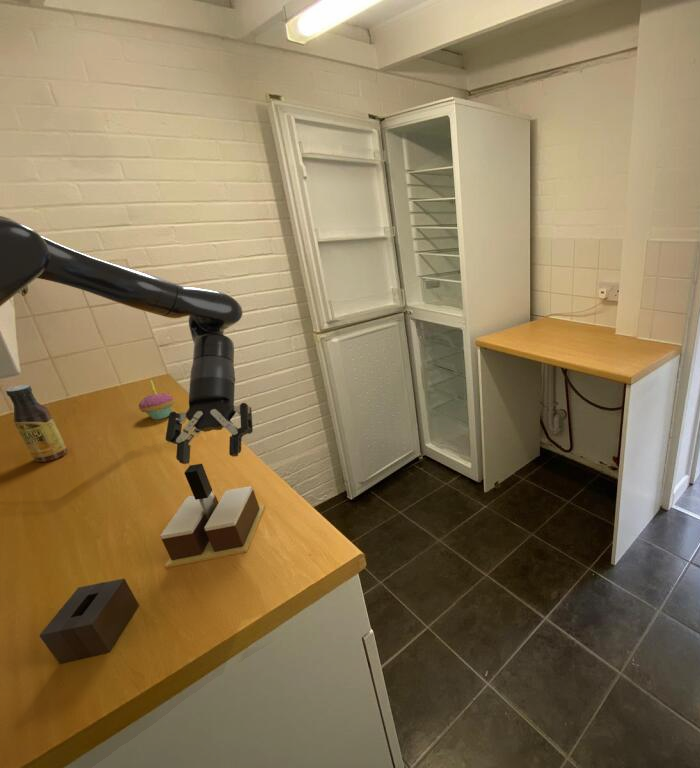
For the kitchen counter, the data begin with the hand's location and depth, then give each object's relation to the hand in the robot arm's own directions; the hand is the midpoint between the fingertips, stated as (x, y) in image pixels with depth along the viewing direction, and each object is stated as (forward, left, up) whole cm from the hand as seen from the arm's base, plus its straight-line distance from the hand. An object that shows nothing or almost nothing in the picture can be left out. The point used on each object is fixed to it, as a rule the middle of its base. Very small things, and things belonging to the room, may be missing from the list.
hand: (209, 459), depth 81 cm
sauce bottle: (-46, +48, -14) cm, 68 cm away
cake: (-1, -6, -14) cm, 15 cm away
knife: (-1, -5, -13) cm, 14 cm away
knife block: (-14, -22, -14) cm, 29 cm away
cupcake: (-26, +63, -14) cm, 70 cm away
